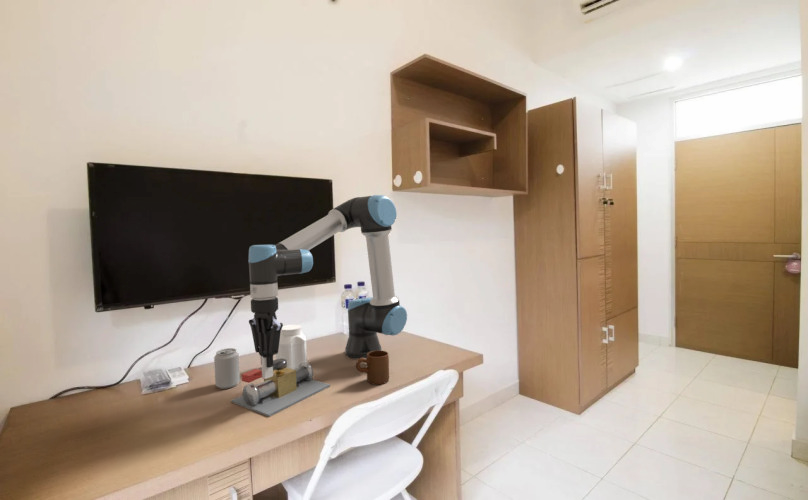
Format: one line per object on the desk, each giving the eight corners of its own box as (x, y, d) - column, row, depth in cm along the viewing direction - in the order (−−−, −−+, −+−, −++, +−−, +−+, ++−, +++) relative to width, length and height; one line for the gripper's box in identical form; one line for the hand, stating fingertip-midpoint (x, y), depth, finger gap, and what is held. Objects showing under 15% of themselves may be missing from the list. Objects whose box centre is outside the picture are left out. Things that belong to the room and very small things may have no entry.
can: (212, 385, 129) (210, 351, 129) (234, 379, 135) (232, 345, 134) (221, 391, 124) (219, 355, 124) (243, 384, 130) (242, 350, 129)
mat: (293, 375, 137) (293, 374, 137) (330, 386, 127) (330, 384, 127) (231, 402, 117) (231, 400, 117) (269, 416, 107) (268, 414, 107)
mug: (361, 390, 123) (360, 361, 123) (351, 382, 130) (350, 355, 129) (393, 381, 129) (392, 354, 129) (382, 374, 136) (382, 348, 135)
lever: (279, 363, 125) (279, 357, 125) (289, 365, 123) (289, 359, 122) (240, 380, 111) (239, 373, 111) (250, 383, 109) (250, 376, 109)
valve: (300, 379, 133) (299, 356, 133) (314, 383, 130) (313, 359, 129) (242, 404, 115) (241, 377, 114) (257, 410, 111) (255, 382, 110)
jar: (282, 372, 140) (281, 332, 139) (272, 366, 147) (270, 327, 146) (311, 364, 147) (310, 326, 147) (300, 358, 155) (299, 322, 154)
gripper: (239, 297, 112) (243, 377, 113) (267, 301, 104) (270, 386, 106) (261, 294, 118) (264, 369, 119) (289, 297, 111) (292, 377, 112)
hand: (267, 377), depth 112 cm, fingers closed
